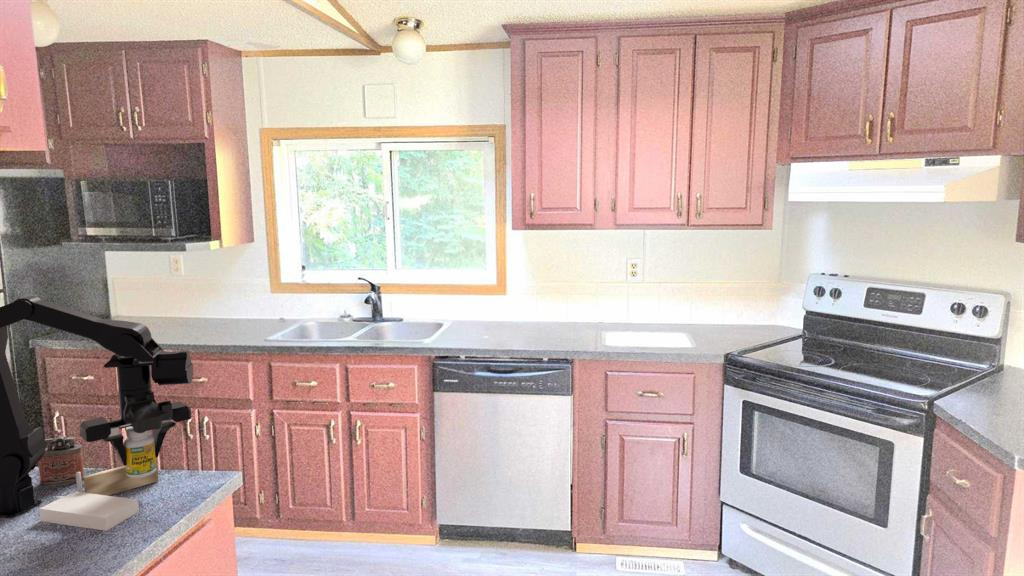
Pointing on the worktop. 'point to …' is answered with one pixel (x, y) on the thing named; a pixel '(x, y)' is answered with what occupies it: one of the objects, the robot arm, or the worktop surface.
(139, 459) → the supplement bottle
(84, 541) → the worktop surface
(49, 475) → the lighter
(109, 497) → the white slab
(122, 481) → the wooden board
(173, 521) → the worktop surface
